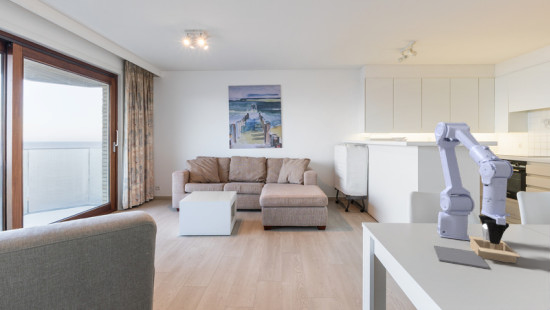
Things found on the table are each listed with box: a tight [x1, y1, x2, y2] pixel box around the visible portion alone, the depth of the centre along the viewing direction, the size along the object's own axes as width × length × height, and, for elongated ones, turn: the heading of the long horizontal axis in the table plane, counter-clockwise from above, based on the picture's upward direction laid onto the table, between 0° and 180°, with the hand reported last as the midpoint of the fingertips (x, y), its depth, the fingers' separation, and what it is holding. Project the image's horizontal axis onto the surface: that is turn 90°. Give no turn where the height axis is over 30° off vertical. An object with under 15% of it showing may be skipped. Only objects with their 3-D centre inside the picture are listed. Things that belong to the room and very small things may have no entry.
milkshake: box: [481, 224, 498, 250], centre depth 84 cm, size 5×5×10 cm
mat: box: [433, 245, 490, 270], centre depth 82 cm, size 12×12×1 cm
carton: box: [468, 235, 521, 264], centre depth 84 cm, size 9×14×3 cm, turn 156°
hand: (491, 240), depth 84 cm, fingers closed on milkshake, 4 cm apart
